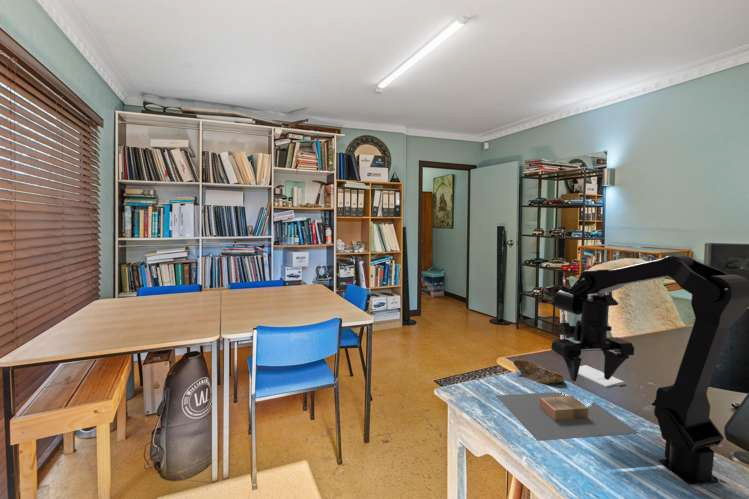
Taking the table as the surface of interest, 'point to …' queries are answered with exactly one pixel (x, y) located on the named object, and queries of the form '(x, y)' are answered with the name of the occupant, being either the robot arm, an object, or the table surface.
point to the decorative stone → (537, 372)
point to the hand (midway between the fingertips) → (590, 379)
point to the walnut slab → (563, 408)
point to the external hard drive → (598, 376)
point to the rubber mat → (549, 429)
